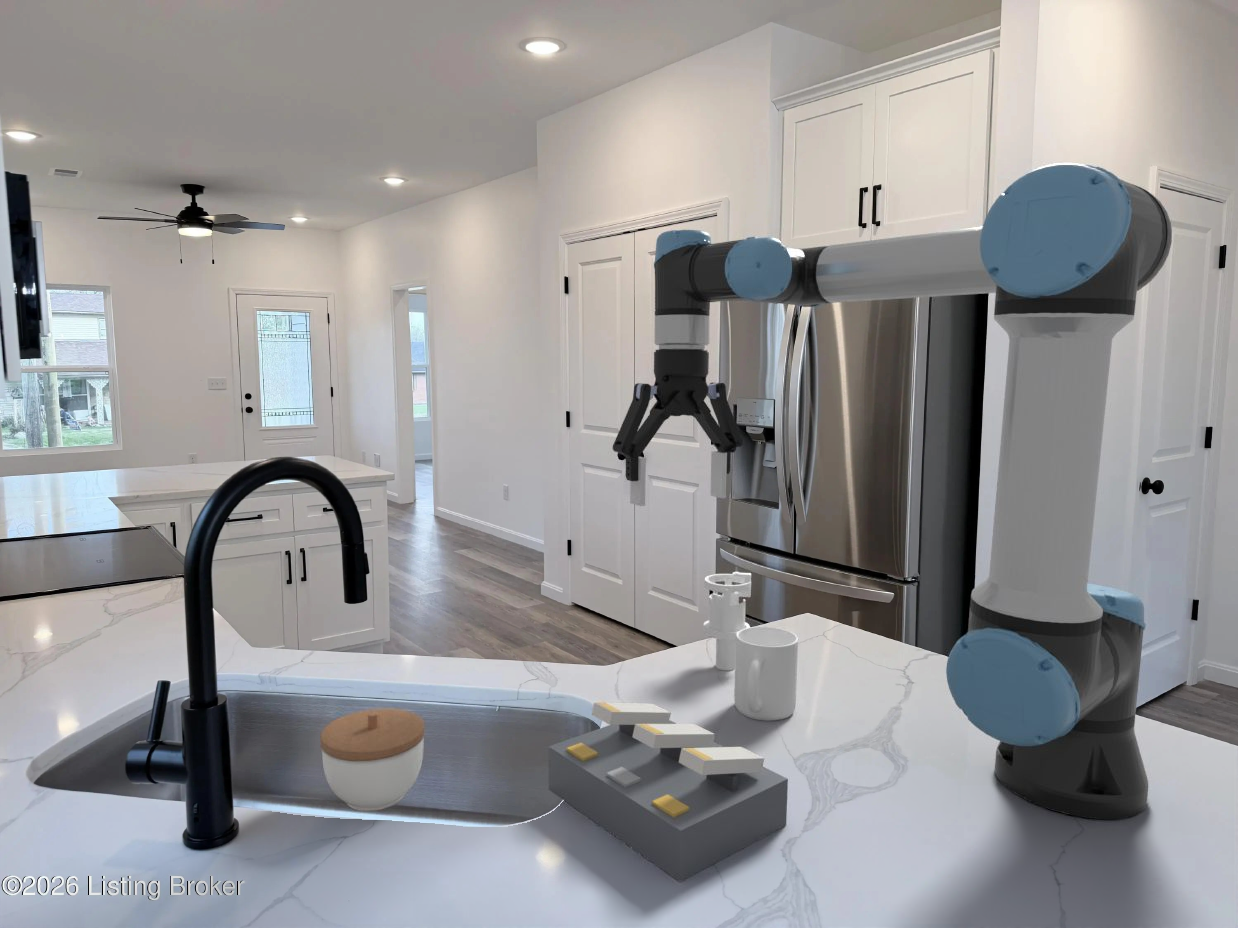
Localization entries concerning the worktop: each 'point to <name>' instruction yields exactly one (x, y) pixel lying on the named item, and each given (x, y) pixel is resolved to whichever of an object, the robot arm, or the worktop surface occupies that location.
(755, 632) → the mug
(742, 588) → the white plastic fitting
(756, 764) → the switch
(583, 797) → the switch unit
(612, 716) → the switch
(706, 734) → the switch
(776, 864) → the worktop surface
